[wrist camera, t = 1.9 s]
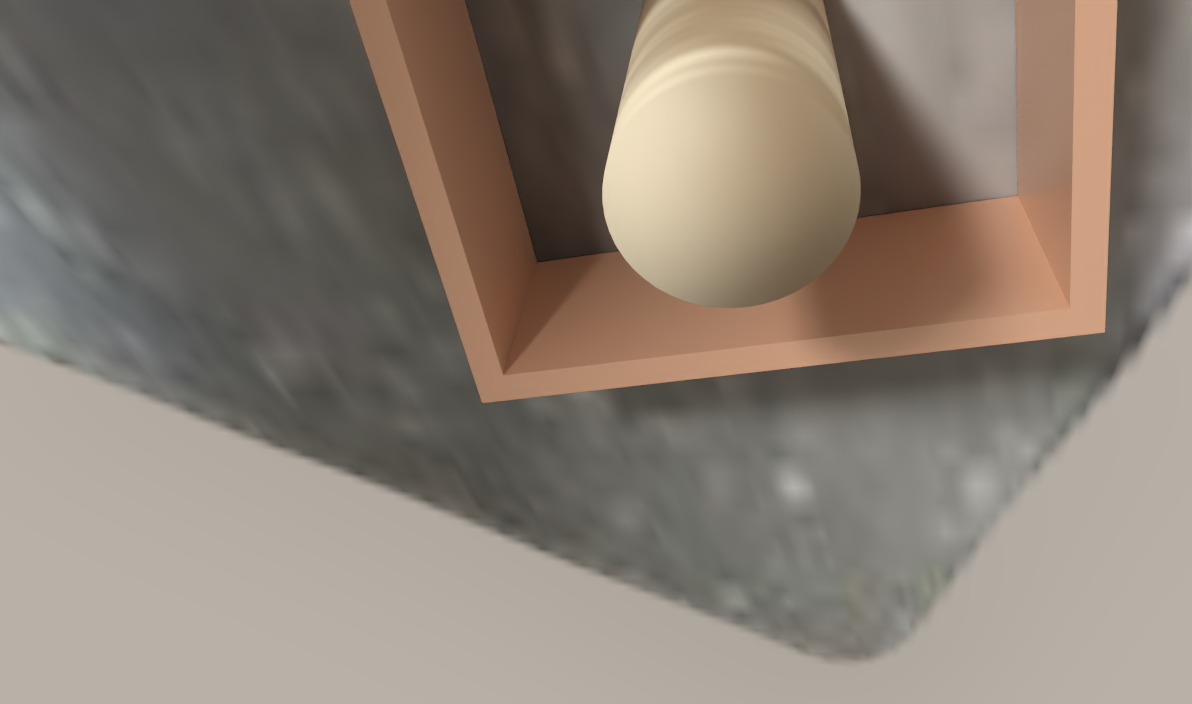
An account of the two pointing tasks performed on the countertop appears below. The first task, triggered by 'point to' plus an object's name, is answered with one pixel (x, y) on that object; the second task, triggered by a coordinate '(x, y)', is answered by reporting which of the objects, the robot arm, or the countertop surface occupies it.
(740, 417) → the countertop surface
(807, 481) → the countertop surface
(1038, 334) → the peach storage bin
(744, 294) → the dowel pin
